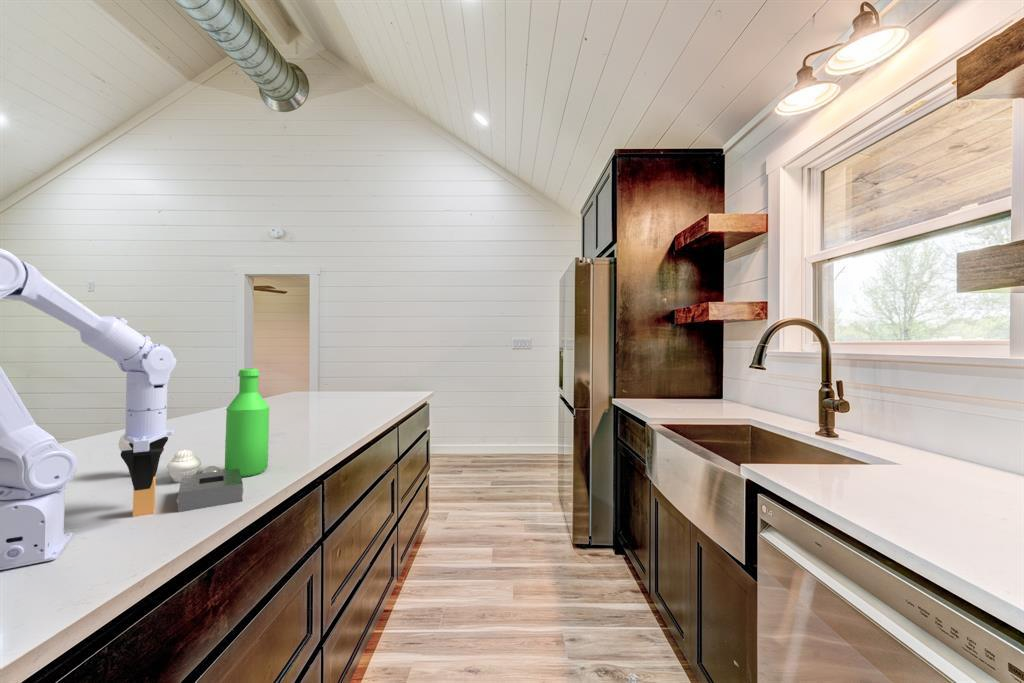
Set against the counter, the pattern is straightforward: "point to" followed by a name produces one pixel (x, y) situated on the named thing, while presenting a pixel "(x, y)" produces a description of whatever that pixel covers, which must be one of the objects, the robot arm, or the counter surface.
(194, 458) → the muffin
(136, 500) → the orange rectangular block
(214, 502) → the grey slotted block
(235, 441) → the bottle
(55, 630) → the counter surface
